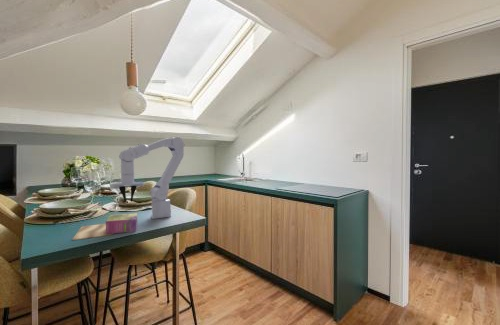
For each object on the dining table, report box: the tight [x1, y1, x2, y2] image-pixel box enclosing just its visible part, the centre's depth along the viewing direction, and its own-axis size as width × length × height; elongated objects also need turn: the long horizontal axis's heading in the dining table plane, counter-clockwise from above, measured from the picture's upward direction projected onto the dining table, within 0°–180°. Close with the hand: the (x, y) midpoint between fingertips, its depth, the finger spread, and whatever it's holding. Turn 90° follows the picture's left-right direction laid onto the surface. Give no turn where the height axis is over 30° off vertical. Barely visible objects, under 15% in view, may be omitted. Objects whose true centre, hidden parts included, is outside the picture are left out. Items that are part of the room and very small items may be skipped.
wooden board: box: [71, 223, 113, 241], centre depth 110 cm, size 14×18×1 cm
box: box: [105, 212, 138, 234], centre depth 112 cm, size 10×6×12 cm
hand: (128, 201), depth 122 cm, fingers open, 2 cm apart
